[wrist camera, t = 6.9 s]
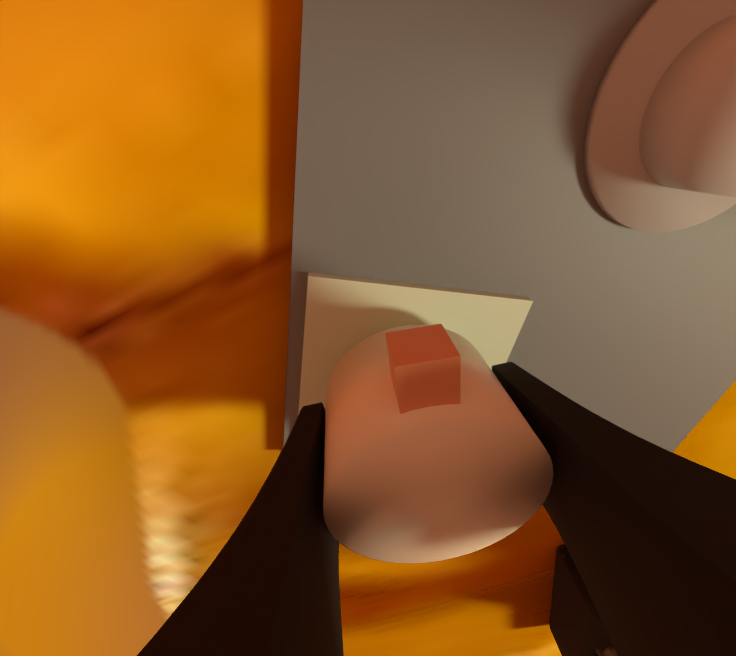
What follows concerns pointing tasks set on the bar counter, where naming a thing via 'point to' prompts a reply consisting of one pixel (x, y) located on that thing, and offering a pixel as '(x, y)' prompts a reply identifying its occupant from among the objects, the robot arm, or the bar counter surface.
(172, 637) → the robot arm
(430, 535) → the domed cylinder with nub
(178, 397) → the bar counter surface
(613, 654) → the driftwood sculpture
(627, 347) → the board
